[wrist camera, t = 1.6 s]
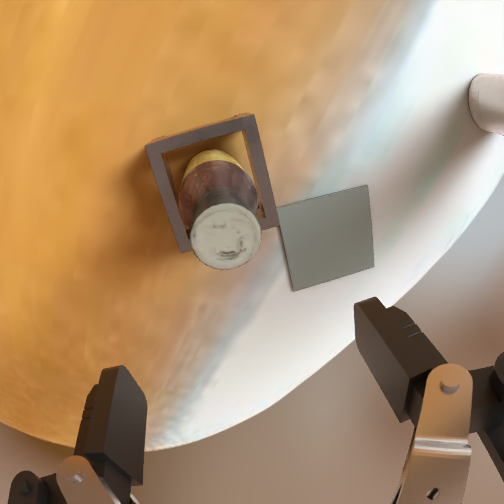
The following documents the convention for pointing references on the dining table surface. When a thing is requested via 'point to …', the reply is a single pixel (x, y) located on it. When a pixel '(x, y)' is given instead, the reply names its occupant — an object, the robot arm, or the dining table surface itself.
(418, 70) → the dining table surface
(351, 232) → the slate mat
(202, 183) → the sauce bottle
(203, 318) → the dining table surface
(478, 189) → the dining table surface
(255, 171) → the grey square frame stand
